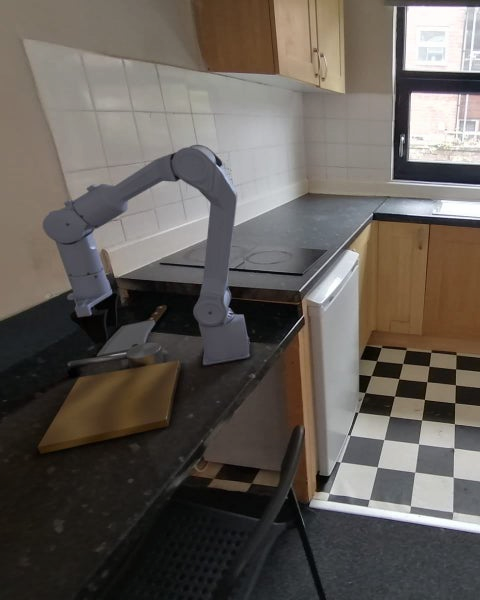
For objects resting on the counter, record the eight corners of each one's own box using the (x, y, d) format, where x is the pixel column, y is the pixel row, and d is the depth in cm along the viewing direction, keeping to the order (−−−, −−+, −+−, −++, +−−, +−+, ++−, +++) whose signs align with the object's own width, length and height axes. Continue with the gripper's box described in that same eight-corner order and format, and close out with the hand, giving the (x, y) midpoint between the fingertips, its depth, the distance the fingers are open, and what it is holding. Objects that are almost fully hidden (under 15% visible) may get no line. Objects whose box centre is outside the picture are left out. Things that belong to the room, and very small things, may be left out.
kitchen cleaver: (136, 308, 111) (174, 303, 113) (137, 311, 112) (175, 306, 113) (92, 354, 89) (141, 348, 91) (94, 358, 90) (142, 352, 91)
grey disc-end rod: (165, 352, 91) (162, 340, 90) (161, 367, 86) (157, 354, 85) (76, 367, 86) (71, 354, 84) (65, 384, 80) (60, 370, 79)
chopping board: (180, 366, 86) (179, 360, 86) (168, 426, 69) (166, 419, 69) (81, 383, 80) (78, 377, 80) (40, 454, 63) (37, 446, 63)
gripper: (73, 262, 82) (93, 321, 87) (45, 287, 69) (70, 354, 75) (113, 258, 84) (131, 316, 90) (93, 282, 72) (114, 348, 77)
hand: (106, 333), depth 82 cm, fingers open, 7 cm apart
